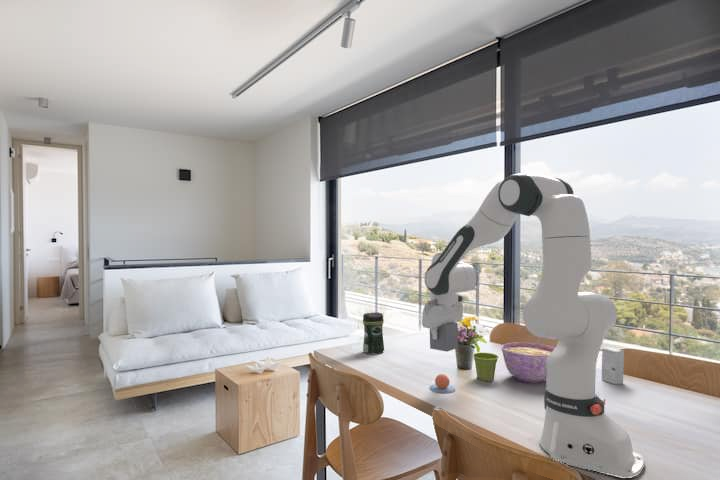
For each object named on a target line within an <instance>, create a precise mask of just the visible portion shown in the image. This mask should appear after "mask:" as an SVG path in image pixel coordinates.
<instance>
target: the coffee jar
mask: <svg viewBox="0 0 720 480" xmlns="http://www.w3.org/2000/svg"><path fill="white" fill-rule="evenodd" d="M384 322H385V321H384V315H383V313H381V312H366V313H364V314H363V317H362V323H363V326H364V333H363V335H364V336H363V345H362V348H363V349H362V350H363V353H365V354H368V353H377V354H380V353H379V352H382V353H384V352H385V345H384V344H385V343H384V334H383V325H384ZM383 351H384V352H383Z"/></svg>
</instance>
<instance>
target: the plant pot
mask: <svg viewBox="0 0 720 480" xmlns="http://www.w3.org/2000/svg"><path fill="white" fill-rule="evenodd" d="M472 357H473V360H474V363H475V364H474V365H475V370H476V371H475V372H476V377H477V379H478V380H481V381H483V382H484V381H485V382H489V381H493V380H495V374H496V373H495V372H496V368H497V367H496V366H497V362H498V359H499V355H497V354H496V353H491V352H476V353H473V354H472Z"/></svg>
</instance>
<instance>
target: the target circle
mask: <svg viewBox="0 0 720 480" xmlns="http://www.w3.org/2000/svg"><path fill="white" fill-rule="evenodd" d="M429 390H430V391H432V392H434V393H438V394H450V393H453V392H455V391H456V387H454V386H453V385H451V384H449V386H448V387H447V388H445V389H440V388H438V387H437V386H436V384H432V385H430V386H429Z"/></svg>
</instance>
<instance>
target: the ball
mask: <svg viewBox="0 0 720 480" xmlns="http://www.w3.org/2000/svg"><path fill="white" fill-rule="evenodd" d="M434 383H435V384H436V386H437V387H438V388H440V389H445V388H447V387H448V386H449V385H450V379H449V377H448V376H447V375H446V374H443V373H440V374H439V373H438V375H437V376H436V377H435V379H434Z"/></svg>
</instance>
